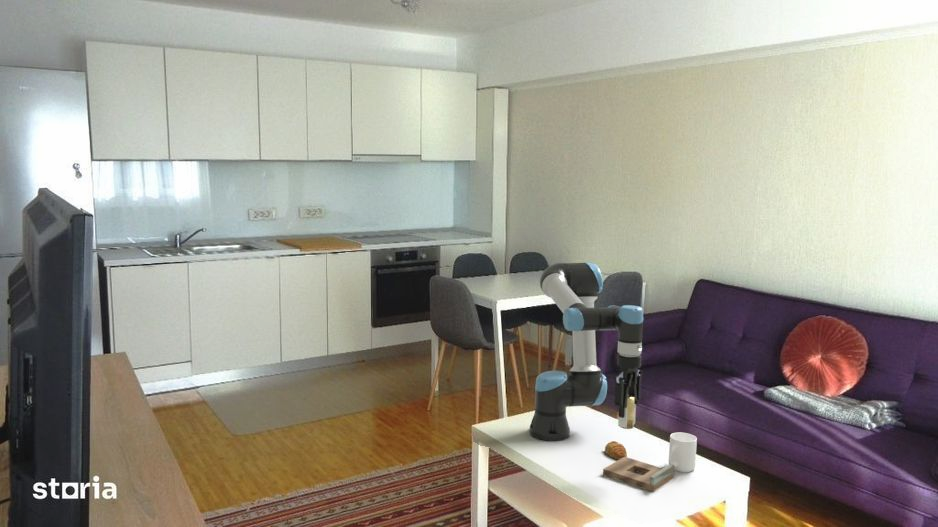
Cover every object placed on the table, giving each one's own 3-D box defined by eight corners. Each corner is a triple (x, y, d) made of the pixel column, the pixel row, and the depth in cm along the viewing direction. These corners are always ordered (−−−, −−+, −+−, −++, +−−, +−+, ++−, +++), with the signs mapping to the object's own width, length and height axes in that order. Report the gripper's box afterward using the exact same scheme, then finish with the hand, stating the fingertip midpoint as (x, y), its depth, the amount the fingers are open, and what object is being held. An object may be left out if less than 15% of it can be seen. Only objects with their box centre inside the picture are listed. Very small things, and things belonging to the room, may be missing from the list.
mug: (657, 469, 239) (659, 438, 237) (677, 460, 246) (679, 430, 245) (679, 477, 232) (681, 446, 231) (700, 468, 240) (701, 437, 239)
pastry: (631, 460, 246) (632, 449, 246) (613, 461, 245) (613, 451, 244) (620, 449, 255) (620, 439, 255) (602, 451, 254) (603, 441, 253)
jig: (602, 474, 233) (603, 461, 233) (624, 462, 244) (625, 449, 243) (653, 491, 222) (654, 478, 221) (673, 477, 232) (674, 464, 231)
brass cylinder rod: (617, 426, 231) (618, 396, 230) (624, 423, 234) (625, 393, 233) (628, 429, 228) (630, 399, 227) (636, 426, 231) (637, 396, 230)
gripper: (625, 360, 219) (622, 434, 222) (653, 351, 232) (650, 421, 234) (604, 356, 224) (601, 428, 227) (633, 347, 237) (630, 416, 240)
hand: (626, 424), depth 231 cm, fingers closed on brass cylinder rod, 4 cm apart
